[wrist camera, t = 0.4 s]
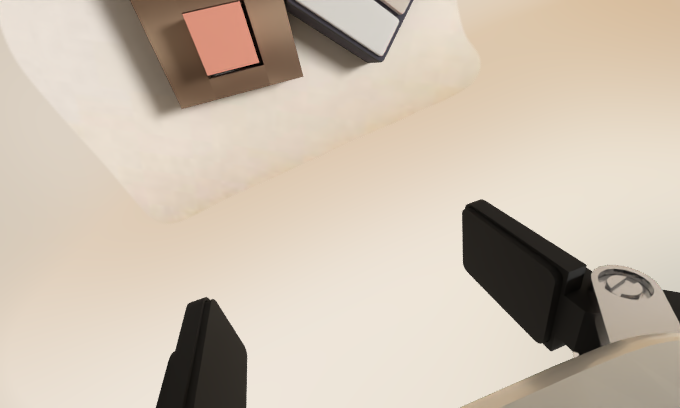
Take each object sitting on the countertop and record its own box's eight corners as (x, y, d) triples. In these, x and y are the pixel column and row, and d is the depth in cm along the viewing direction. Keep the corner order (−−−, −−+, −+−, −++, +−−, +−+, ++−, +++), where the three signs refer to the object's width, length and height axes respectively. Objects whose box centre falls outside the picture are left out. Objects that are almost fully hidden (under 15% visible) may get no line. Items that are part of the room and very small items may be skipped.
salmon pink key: (191, 18, 26) (182, 14, 23) (241, 7, 27) (239, 1, 23) (212, 72, 28) (207, 75, 25) (258, 60, 29) (259, 62, 26)
